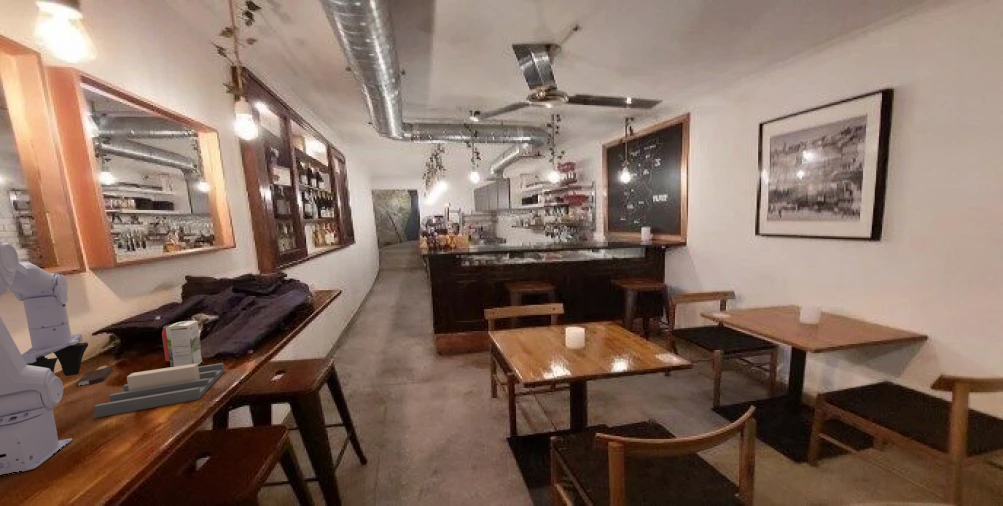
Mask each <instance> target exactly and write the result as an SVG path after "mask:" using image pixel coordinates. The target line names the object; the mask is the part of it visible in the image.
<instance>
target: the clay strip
mask: <svg viewBox="0 0 1003 506" xmlns="http://www.w3.org/2000/svg"><path fill="white" fill-rule="evenodd" d="M198 367H199V366H198V363H196V364H189V365H183V366H176V367H165V368H157V369H151V370H150V369H149V370H143V371H137V372H132V373H129V375H127V376H126V381H127V384H128V388H129V391H133V390H139V389H145V388H151V387H157V386H163V385H170V384H176V383H182V382H188V381H194V380H200V375H199V368H198Z"/></svg>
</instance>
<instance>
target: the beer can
mask: <svg viewBox="0 0 1003 506" xmlns="http://www.w3.org/2000/svg"><path fill="white" fill-rule="evenodd" d="M175 323H176V322H175ZM175 323H171V324H167V325H164V326H163V327H162V332H161V337H162V344H163V350H164V351H163V353H164V358H165V362H166V361H170V359H169V351H168V343H167V334H166V328H167V327H169V326H171V325H173V324H175Z"/></svg>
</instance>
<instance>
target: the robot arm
mask: <svg viewBox="0 0 1003 506" xmlns="http://www.w3.org/2000/svg"><path fill="white" fill-rule="evenodd" d="M10 290H11V292H12V294H13V295H14V296H15V298H16V300H17V301H19V302H22V303H23V308H24V312H25V318H26V323H27V328H28V333H29V339H30V343H31V348H29V349H27V350H25V352H23V353H21V352H20V349H19V347H18V346H17V344H16V343H15V340H14V338H13V337H12V335H11V333H10V332H9V330H8V328H7V326H6V324H5V322H4V321H3V318H2V317H1V316H0V475H1V474H5V473H11V472H17V473H20V472H19V471H22V472H26V471H31V470H34V469H36V468H38V467H39V466H41V465H42V464H43V463H45V462H46V461H47V460H49V458H51V457H52V456H53V454H54V453H55V454H56V453H58V452H59V451H60V450H62V449H63V448H64V447H66V446H67V445H68V444H69V443H71V442H72V441H73V438H70V437H69V438H65V439H59V437H58V436H59V435H58V431H57V426H56V420H55V415H54V409H53V407H54V408H55V407H56V406H57V405H58V404H59V403H60V402H61V400H62V398H63V394H64V385H63V381H62V380H61V378H60V377H58V376H57V375H56V374H55V367H56V365H57V362H58V361H59V363H60V366H61V370H62V373H63V374H64V376H65V377H70V376H76V375H79V373H80V370H81V364H82V361H83V360H82V359H83V357H84V354H85V352H86V350H87V348H88V347H89V343H88V342H83V341H84V339H83V334H82V333H77V334H71V326H70V323H69V322H70V321H69V315H68V310H67V305H66V304H67V303H68V302H69V300H68V290H69V285H68V281H67V278H66V276H65V275H64V274H60V273H58V272H49V271H46V270H45V269H43V268H41V267H39V266H38V265H35V264H33V263H32V262H30V261H28V260H26V261H25V260H24V261H23V260H22V261H20V259H19V255H18V252H17V250H16V248H15V247H14V246H13V245H12V244H10V243H9V242H7V241H4V240H0V296H3V295H5V294H6V293H7V294H8V293H9V292H10ZM51 354H54V356H55V357H53V358H52V357H51V358H48V357H47V356H49V355H51ZM66 444H67V445H66ZM63 446H64V447H63ZM62 447H63V448H62ZM59 449H60V450H59ZM58 450H59V451H58ZM57 451H58V452H57ZM55 454H54V455H55Z"/></svg>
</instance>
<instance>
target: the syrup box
mask: <svg viewBox="0 0 1003 506" xmlns="http://www.w3.org/2000/svg"><path fill="white" fill-rule="evenodd" d="M172 324H173V325H171V326H169V327H167V328H166V334H167V343H168V351H169V359H170V363H169V364H170V367H176V366H183V365H189V364H196V363H198V365H199V364H200V363H201V362H202V363H203V356H202V347H201V336H200V329H199V321H198V320H184V321H183V320H182V321H178V322H175V324H174V323H172ZM200 365H201V364H200ZM200 365H199V366H200Z"/></svg>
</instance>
